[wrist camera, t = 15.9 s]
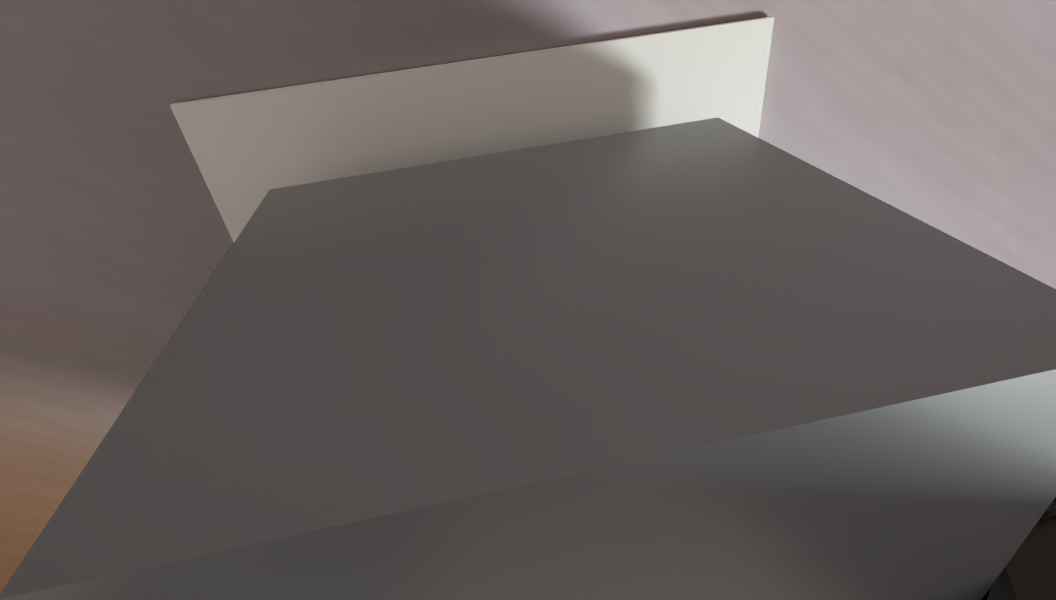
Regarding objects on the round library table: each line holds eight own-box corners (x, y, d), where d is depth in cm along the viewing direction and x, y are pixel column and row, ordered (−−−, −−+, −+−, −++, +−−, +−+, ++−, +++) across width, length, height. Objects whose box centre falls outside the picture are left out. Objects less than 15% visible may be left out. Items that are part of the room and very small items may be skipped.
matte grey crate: (689, 423, 18) (877, 742, 10) (388, 488, 17) (365, 884, 10) (717, 117, 12) (1165, 345, 5) (269, 189, 11) (-5, 600, 4)
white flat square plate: (717, 421, 20) (719, 425, 20) (355, 498, 19) (355, 502, 19) (769, 16, 13) (774, 17, 13) (173, 103, 12) (169, 105, 11)
